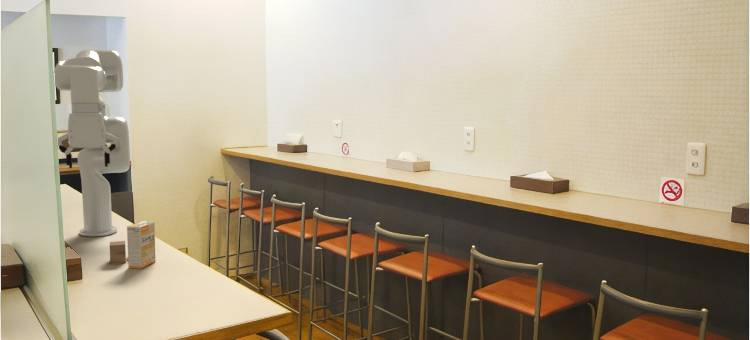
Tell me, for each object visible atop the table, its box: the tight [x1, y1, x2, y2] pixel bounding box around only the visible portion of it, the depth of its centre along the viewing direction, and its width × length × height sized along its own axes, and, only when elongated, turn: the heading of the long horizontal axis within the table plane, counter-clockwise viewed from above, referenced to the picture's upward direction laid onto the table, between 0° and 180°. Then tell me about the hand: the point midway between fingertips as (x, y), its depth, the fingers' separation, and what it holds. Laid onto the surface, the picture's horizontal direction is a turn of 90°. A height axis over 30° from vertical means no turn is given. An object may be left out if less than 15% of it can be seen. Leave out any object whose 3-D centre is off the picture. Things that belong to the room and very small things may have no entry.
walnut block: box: [109, 240, 127, 265], centre depth 201 cm, size 4×4×6 cm
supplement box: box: [126, 220, 156, 270], centre depth 197 cm, size 8×5×13 cm, turn 168°
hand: (88, 166), depth 190 cm, fingers open, 9 cm apart
